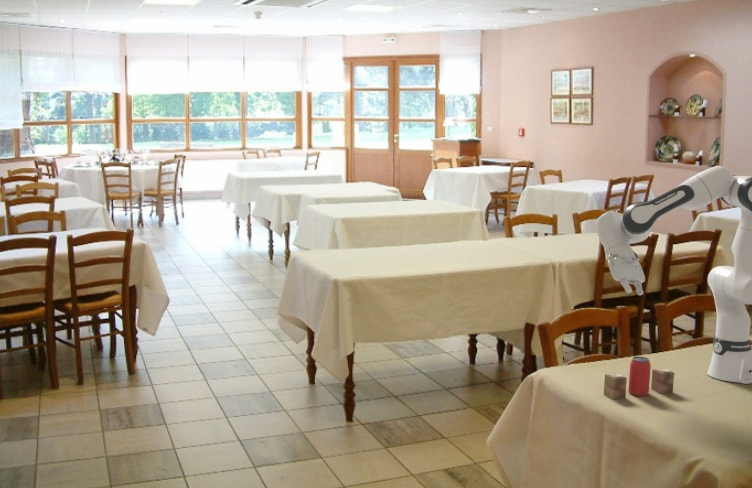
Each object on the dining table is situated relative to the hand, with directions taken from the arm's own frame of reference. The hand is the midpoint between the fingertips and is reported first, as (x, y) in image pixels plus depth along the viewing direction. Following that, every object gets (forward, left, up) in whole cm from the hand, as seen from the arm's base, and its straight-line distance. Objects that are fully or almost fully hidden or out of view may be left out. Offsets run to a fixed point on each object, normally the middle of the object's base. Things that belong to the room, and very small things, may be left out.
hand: (635, 293), depth 301 cm
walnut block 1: (+11, +8, -32) cm, 35 cm away
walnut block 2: (-8, +8, -32) cm, 34 cm away
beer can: (+2, +8, -33) cm, 34 cm away
